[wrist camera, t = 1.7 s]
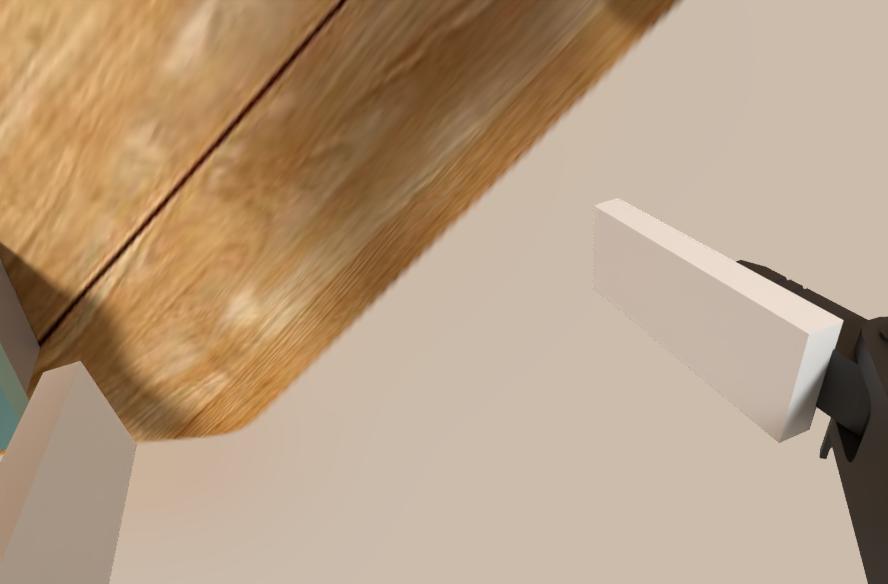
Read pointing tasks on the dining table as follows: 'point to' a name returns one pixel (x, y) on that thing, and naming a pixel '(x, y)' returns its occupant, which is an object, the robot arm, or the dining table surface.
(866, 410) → the robot arm
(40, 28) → the dining table surface
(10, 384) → the lid
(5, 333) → the tub
